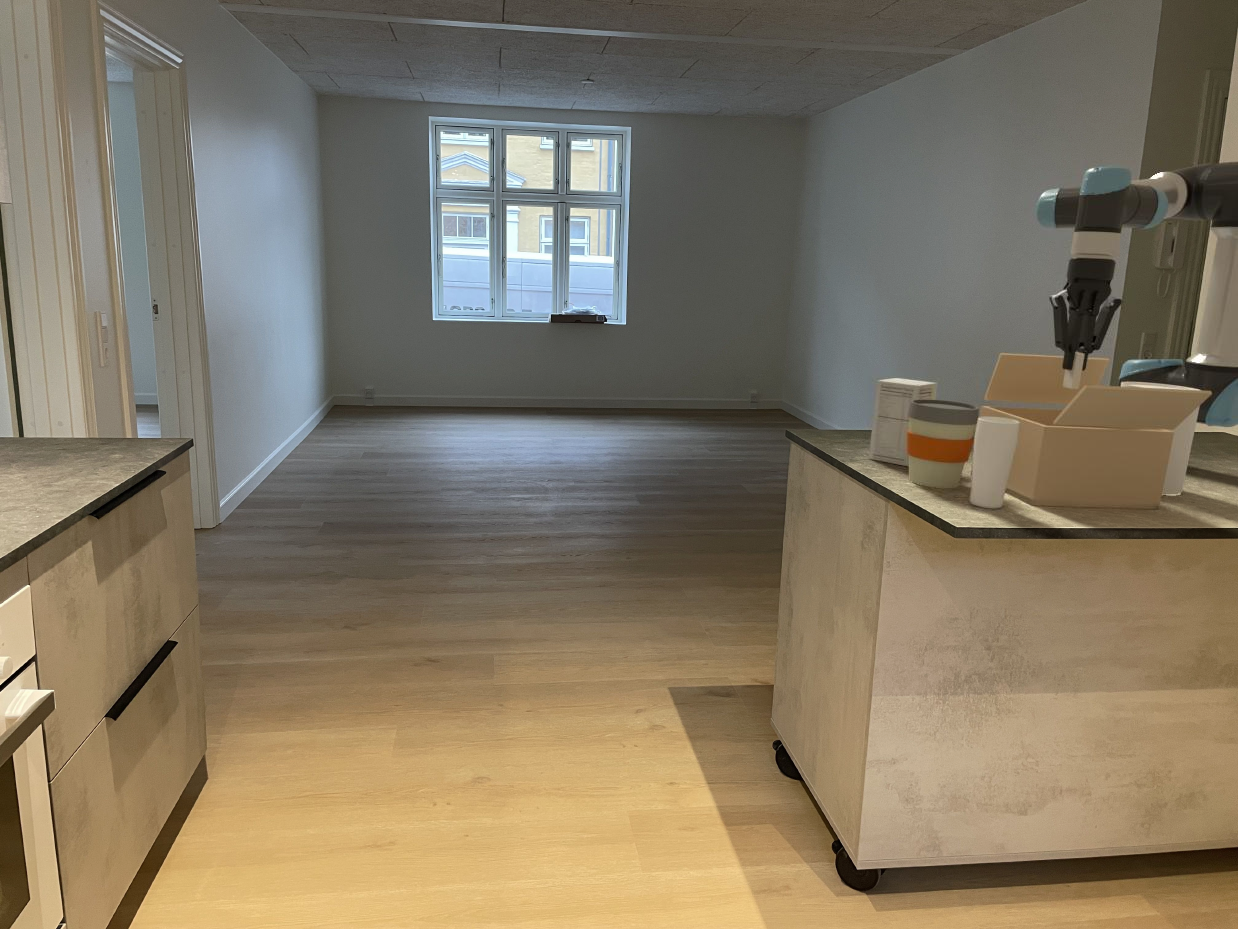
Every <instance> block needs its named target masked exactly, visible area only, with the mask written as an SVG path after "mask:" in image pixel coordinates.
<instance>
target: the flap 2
mask: <svg viewBox="0 0 1238 929" xmlns="http://www.w3.org/2000/svg"><path fill="white" fill-rule="evenodd" d="M1211 394H1212V392H1211V391H1202V390H1181V389H1160V388H1140V387H1119V386H1118V385H1116V386H1115V385H1099V386H1098V385H1085V386H1084V387H1083V388H1082V389H1081V390H1080V391H1079V392H1078V394H1077V395H1076V396H1075V397H1074V398H1073V399H1072V401H1071V402H1070V403H1069V404H1066V406H1065V407H1064V408H1063V409H1062V410H1063V411H1062V412H1061V413H1060V414H1059V416H1058V417H1057V418H1056V419H1055V420H1054V421H1053V423H1054V425H1076V426H1099V427H1122V428H1146V429H1169V430H1174V429H1175V428H1176V427H1177V426H1178V425H1179V424H1180V423H1182V422H1183V421H1184V420H1185V419H1186V418H1187V417H1188V416H1189V415H1190V414H1191V413H1192V412H1193V411H1194V410H1195V409H1196V408H1198V407H1199V406H1200V405H1201V404H1202V403H1203V402H1204V401H1205V400H1206V399H1207V398H1208V397H1209V396H1210V395H1211Z"/></svg>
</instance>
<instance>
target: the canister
mask: <svg viewBox="0 0 1238 929" xmlns="http://www.w3.org/2000/svg"><path fill="white" fill-rule="evenodd" d="M1121 387H1140V388H1160V389H1181V390H1199V389H1194V388H1189V387H1183V386H1175V385H1167V384H1158V383H1146V382H1122V383H1121ZM1199 407H1200V406H1199ZM1199 407H1198V408H1196V409H1195V410H1194V411H1193V412H1192V413H1191V414H1190V415H1189V416H1188V417H1187V418H1186V419H1185V420H1184V421H1183V422H1182V423H1180V424H1179V425H1178V426H1177V427H1176V428H1175V429H1174V430H1169V429H1164V430H1168V431H1172V432H1174V436H1173V441H1172V446H1171V451H1170V456H1169V461H1168V466H1167V471H1166V476H1165V481H1164V486H1163V491H1162V494H1165V495H1166V494H1178V493H1181V492H1183V488H1184V483H1185V478H1186V474H1187V469H1188V465H1189V459H1190V454H1191V449H1192V444H1193V440H1194V435H1195V430H1196V425H1197V423H1196V421H1197V416H1198V411H1199Z"/></svg>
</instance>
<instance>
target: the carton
mask: <svg viewBox="0 0 1238 929" xmlns="http://www.w3.org/2000/svg"><path fill="white" fill-rule="evenodd" d="M1063 410H1064V409H1058V408H1040V407H1039V408H1036V407H1035V408H1034V407H1017V406H1016V407H1015V406H1014V407H1013V406H989V405H981V406H980V410H979V417H1000V418H1007V419H1012V420H1016V421H1019V422H1020V427H1019V435H1018V442H1017V447H1016V451H1015V455H1014V459H1013V463H1012V466H1011V470H1010V474H1009V478H1008V482H1007V486H1006V490H1005V494H1008V495H1009V496H1011V497H1014V498H1015V499H1018V500H1020V501H1022V502H1024V503H1026V504H1028V505H1030V506H1038V507H1039V506H1041V507H1042V506H1044V507H1045V506H1047V507H1075V508H1103V509H1106V508H1107V509H1134V510H1138V509H1139V510H1159V509H1160V505H1161V500H1162V497H1163V496H1162V491H1163V486H1164V481H1165V476H1166V471H1167V466H1168V461H1169V456H1170V451H1171V446H1172V441H1173V436H1174V432H1172V431H1168V430H1164V429H1146V428H1122V427H1099V426H1076V425H1054V423H1053V421H1054V420H1055V419H1056V418H1057V417H1058V416H1059V414H1060V413H1061V412H1062V411H1063ZM972 466H973V462H972V464H971V467H972ZM970 476H971V477H972V469H971V470H970Z"/></svg>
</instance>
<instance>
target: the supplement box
mask: <svg viewBox="0 0 1238 929" xmlns="http://www.w3.org/2000/svg"><path fill="white" fill-rule="evenodd" d="M937 392H938V383H937V382H932V381H931V382H930V381H924V380H916V379H915V380H914V379H907V378H901V377H899V378H898V377H895V378H885V379H880V380H877V384H876V392H875V400H874V408H873V415H872V417H873V418H872V425H871V435H870V442H869V443H870V444H869V450H868V451H869V453H868V460H873V461H879V462H885V463H889V464H892V465H893V464H895V465H899V466H903V467H909V455H908V454H907V430H908V429H909V416H908V411H909V407H910V403H911V400H915V399H933V400H937Z"/></svg>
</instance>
